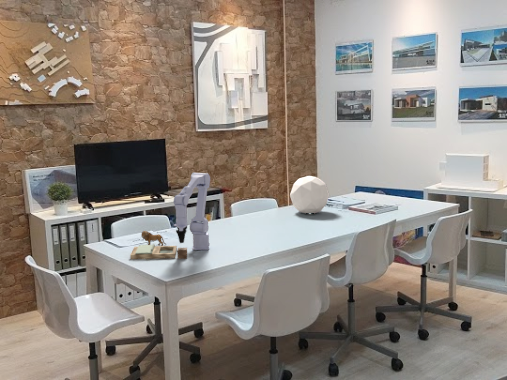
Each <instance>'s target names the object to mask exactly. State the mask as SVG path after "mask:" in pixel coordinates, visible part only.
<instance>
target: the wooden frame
mask: <svg viewBox="0 0 507 380" xmlns="http://www.w3.org/2000/svg"><path fill="white" fill-rule="evenodd" d="M137 248H138V246H134V247H133V248H132V251H131V252H130V255H129V256H130V260H157V259H159V260H160V259H176V255H177V250H178V245H163V246H161V245H155V247H154V250H153V253H152V254H135V253H136V250H137Z"/></svg>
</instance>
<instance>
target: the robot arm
mask: <svg viewBox="0 0 507 380" xmlns="http://www.w3.org/2000/svg"><path fill="white" fill-rule="evenodd" d="M210 184H211V176H210V174H209V173H208V172H206V173H205V172H192V173H191V175H190V180H189V183H188V184H187V186H186V185H185V186H184V187H183V188H182V189H181V191H180V192H179V193H178V194H176V195H174V198H173V205H174V209H175V218H176V219H175V221H176V223H175V224H173V226H174V227H176V230H175V232H176V234H177V238H178V241H179V244H185V236H186V233H187V229H188V217H187V216H188V215H187V213H188V211H187V209H188V208H187V205H188V204H189V202H190V197H191V196H192V195H193V193H194V189H195V188H197V190H198V191H197V192H198V193H197V198H196V199H197V200H196V210H195V216H194V217H193V218H191V219H190V224H189V231H190V232H191V234H192V249H191V250H192V251H197V250H198V251H203V250H204V251H206V250H210V239H209V238H210V235H209V220H208V219H207V218H206V217H205V215H206V214H205V213H206V205H207V204H206V203H207V195H208V189H209V188H210Z"/></svg>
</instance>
